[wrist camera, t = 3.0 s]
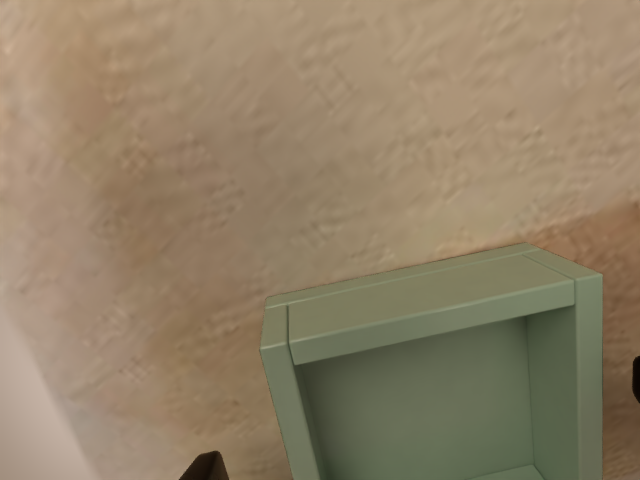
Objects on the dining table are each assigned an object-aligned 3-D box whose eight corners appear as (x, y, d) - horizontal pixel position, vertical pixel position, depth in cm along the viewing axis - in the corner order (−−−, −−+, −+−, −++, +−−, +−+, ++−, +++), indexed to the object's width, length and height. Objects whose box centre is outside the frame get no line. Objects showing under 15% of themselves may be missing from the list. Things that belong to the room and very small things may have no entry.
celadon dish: (316, 506, 10) (325, 603, 8) (265, 296, 8) (258, 348, 6) (537, 454, 10) (603, 536, 8) (526, 240, 9) (604, 272, 7)
